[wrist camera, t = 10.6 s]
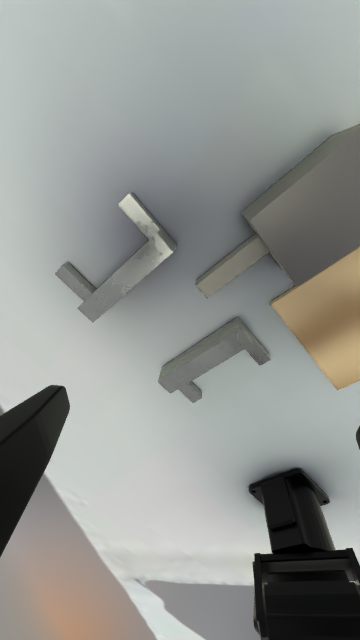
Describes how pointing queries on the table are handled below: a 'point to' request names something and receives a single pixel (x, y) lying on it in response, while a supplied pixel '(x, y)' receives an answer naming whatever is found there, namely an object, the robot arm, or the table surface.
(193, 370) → the pair of grey brackets
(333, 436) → the table surface
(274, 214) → the plug
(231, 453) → the table surface
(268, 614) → the robot arm
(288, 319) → the pad
